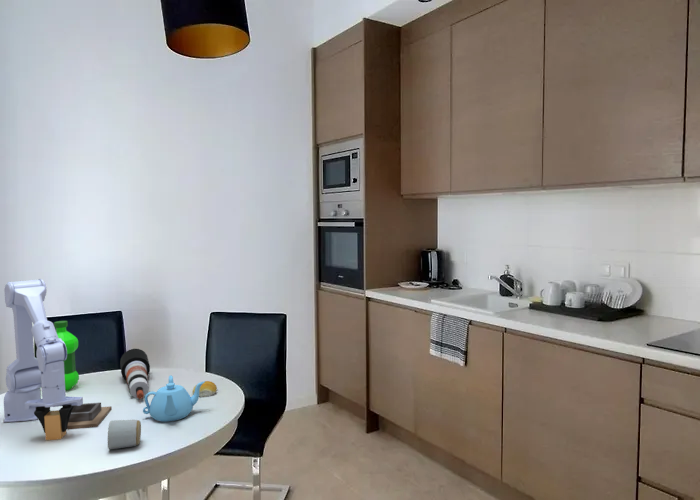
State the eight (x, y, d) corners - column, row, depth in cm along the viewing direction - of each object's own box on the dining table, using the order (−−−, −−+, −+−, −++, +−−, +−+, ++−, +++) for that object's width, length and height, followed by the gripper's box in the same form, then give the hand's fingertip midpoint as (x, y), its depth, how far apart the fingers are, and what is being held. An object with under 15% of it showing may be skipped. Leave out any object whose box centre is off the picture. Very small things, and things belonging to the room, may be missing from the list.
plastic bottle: (50, 386, 187) (46, 320, 185) (81, 382, 191) (78, 318, 189) (45, 395, 178) (41, 325, 176) (79, 391, 182) (75, 323, 180)
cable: (134, 416, 169) (118, 393, 166) (128, 377, 199) (114, 357, 196) (162, 398, 173) (146, 376, 169) (152, 363, 203) (139, 343, 199)
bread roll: (217, 388, 184) (216, 377, 183) (216, 396, 175) (215, 385, 175) (193, 390, 182) (193, 379, 181) (191, 398, 173) (191, 387, 173)
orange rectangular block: (45, 440, 141) (44, 416, 141) (51, 434, 145) (50, 410, 145) (60, 439, 142) (59, 415, 141) (66, 433, 146) (65, 409, 145)
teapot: (136, 419, 155) (134, 387, 154) (173, 403, 168) (172, 373, 168) (170, 428, 148) (168, 394, 148) (206, 410, 162) (205, 379, 161)
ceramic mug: (139, 449, 135) (138, 422, 134) (107, 454, 132) (106, 426, 132) (142, 434, 144) (141, 409, 144) (112, 439, 142) (111, 413, 141)
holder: (50, 430, 148) (49, 418, 148) (68, 412, 162) (68, 401, 161) (97, 426, 150) (96, 415, 150) (111, 409, 164) (111, 398, 163)
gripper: (18, 391, 137) (21, 439, 138) (75, 387, 140) (78, 434, 141) (30, 383, 144) (33, 428, 145) (84, 379, 147) (86, 424, 147)
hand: (55, 431), depth 143 cm, fingers closed on orange rectangular block, 4 cm apart
